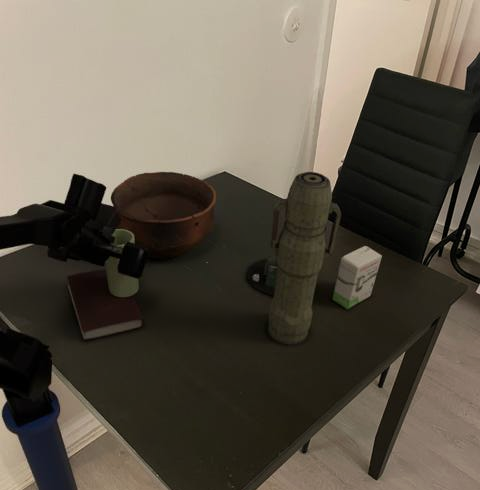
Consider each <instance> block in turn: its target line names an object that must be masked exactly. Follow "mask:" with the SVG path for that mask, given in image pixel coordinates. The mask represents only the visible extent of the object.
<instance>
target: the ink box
mask: <svg viewBox="0 0 480 490" xmlns="http://www.w3.org/2000/svg"><path fill="white" fill-rule="evenodd" d="M382 257H383V255H382V254H380V253H379V252H377V251H376V250H373V249H372V248H370V247H369V246H366V245H364V246H361V247H359V248H357V249H356V250H353V251H351V252H349V253H347V254H345V255H343V257H341V259H340V263H339V268H338V272H337V277H336V281H335V286H334V290H333V295H332V300H333V301H334V302H336V303H337V304H339V305H340V306H342V307H343V308H344V309H346V310H348V309H350V308H352V307H354V306H356V305H357V304H359V303H360V302H363V301H364V300H366V299H367V298H369V297H371V295H372V291H373V288H374V286H375V282H376V278H377V275H378V271H379V268H380V264H381V261H382V259H383V258H382Z"/></svg>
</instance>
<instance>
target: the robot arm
mask: <svg viewBox="0 0 480 490" xmlns="http://www.w3.org/2000/svg"><path fill="white" fill-rule="evenodd" d="M106 190H107V186H106V185H105V184H103V183H101V182H97V181H95V180H93V179H90V178H88V177H86V176H84V175H81V174H77V173H73V174H72V176H71V180H70V183H69V187H68V191H67V194H66V196H65V200H64V202H59V201H56V200H52V199H49V200H47V201H45V202H43V203H32V204H28V205H26V206H23V207H20V208H19V209H18V210H17V212H16V213H14V214H11V215H4V216H0V251H1V250H7V249H10V248H17V247H21V246H26V245H36V246H42V247H47V253H46V254H47V257H48V258H50V259H53V260H57V261H60V262H64V263H66V262H67V261H68V259H69V260H73V261H76V262H77V261H78V262H79V261H82V262H85V263H89V264H92V265H95V266H99V267H103V268H104V267H105V261H107V260H108V259H109V257H113V258H117V259H120V260H119V264H118V267H117V268H118V273H120V274H123V275H126V276H129V277H133V278H136V279H138V280H139V279H140V278H142V275H143V272H144V268H145V266H146V264H147V260H148V258H149V257H148V254H149V251H148V249H147V248H146V247H144V246H142V245H138V244H135V243H131V242H127V243H126V244H125V245H124V248H122V247H119V246H115V245H111V243H112V244H114V241H115V237H114V236H112V234H113V233H114V231H115V230H116V229H118V228H117V226H118V224H119V223H120V222H121V217H120V215H119V213H118V211H117V209H116V207H114V206H113V205H110V204H106V203H103V199H104V197H105V193H106ZM112 250H114V251H116V252H114V251H112ZM117 251H118V252H120V253H117ZM121 253H122V254H121ZM49 349H50V345H48V344H45V343H42V341H41V340H40V339H39V338H37V337H35V336H32V335H29V334H26V333H23V332H20V331H18V330H15V329H12V328H9V327H7V329H6V331H5V332H4V331H3V330H1V329H0V389H1V390H2V392H3V394H4V397H5V400H6V401H7V405H8V407H9V410H10V412H11V414H12V417H13V419H14V421H15V423H16V426H17V427H21V426H23V425H26V424H28V423H30V422H33V421H35V420H37V419H40V418H42V417H44V416H47V415H49V414H51V413H53V412H54V409H53V407H52V405H51V403H52V401H53V400H52V397H51V394H50V390H51V389H50V386H51V385H52V382H53V381H52V378H53V359H52V358H53V354H52V352H51V351H50V350H49ZM50 410H52V411H50Z"/></svg>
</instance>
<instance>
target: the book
mask: <svg viewBox="0 0 480 490" xmlns="http://www.w3.org/2000/svg"><path fill="white" fill-rule="evenodd" d="M66 280H67V290H68V292H69V295H70V299H71V302H72V305H73V310H74V312H75V316H76V319H77V322H78V326H79V329H80V333H81V335H82V340H83V341H84V342H85V341H91V340H96V339H100V338H104V337H109V336H113V335H115V334H122V333H125V332H128V331H133V330H137V329H140V328H142V327H143V326H144V318H143V315H142V313H141V311H140V308H139V306H138V304H137V301H136V300H135V297H134V295H132V296H128V297H117V296H114V295H113V294H111V293H110V291H109V286H108V279H107V272H106V268H104V269H96V270H91V271H90V270H89V271H84V272H79V273H75V274H70V275H66Z"/></svg>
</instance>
